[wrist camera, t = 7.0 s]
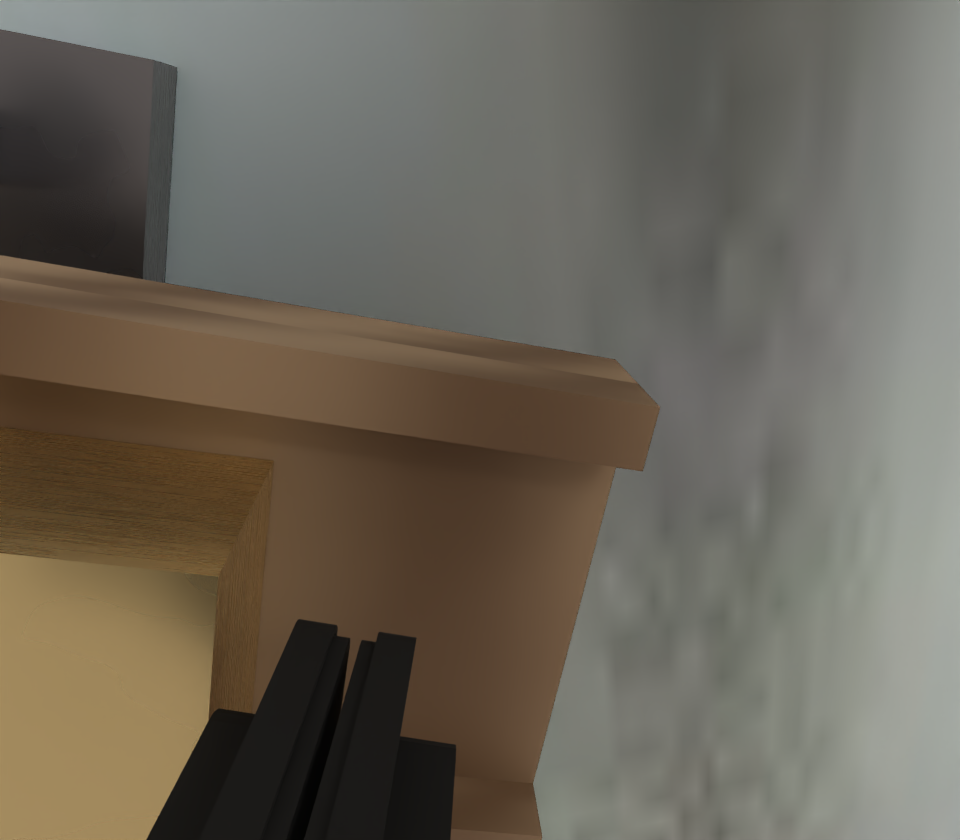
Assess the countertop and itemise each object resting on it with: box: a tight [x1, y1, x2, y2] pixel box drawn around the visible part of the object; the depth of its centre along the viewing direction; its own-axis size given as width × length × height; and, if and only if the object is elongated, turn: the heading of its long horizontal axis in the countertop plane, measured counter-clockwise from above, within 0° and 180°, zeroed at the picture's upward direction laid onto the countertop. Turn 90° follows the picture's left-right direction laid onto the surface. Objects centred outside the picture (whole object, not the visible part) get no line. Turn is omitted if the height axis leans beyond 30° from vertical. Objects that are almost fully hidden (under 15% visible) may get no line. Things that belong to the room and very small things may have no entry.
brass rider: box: [0, 426, 274, 840], centre depth 11 cm, size 6×5×4 cm
